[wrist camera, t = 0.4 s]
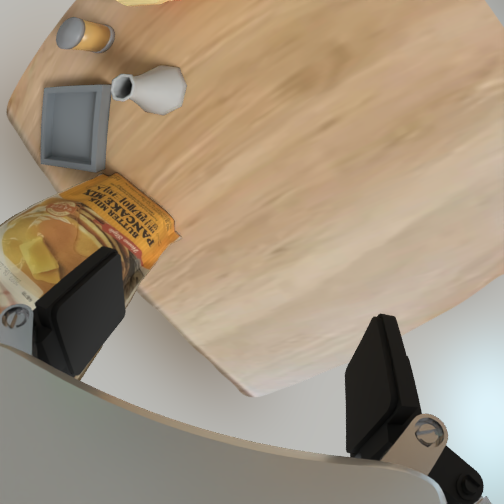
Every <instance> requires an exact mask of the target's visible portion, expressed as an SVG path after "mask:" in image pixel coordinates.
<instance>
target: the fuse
mask: <svg viewBox="0 0 504 504" xmlns="http://www.w3.org/2000/svg"><path fill="white" fill-rule="evenodd" d="M114 38H115V32H114V29H113V28H112V27H110V26H107V25H101V24H97V23H93V22H89V21H85V20H82V19H80V18H75V17H71V18H69V19H67V20H66V21H65V22H64V23H63V24H62V25H61V26H60V28H59V30H58V32H57V37H56V42H57V45H58V47H59V48H61V49H76V50H84V51H91V52H94V53H103V52H105V51H106V50H108V49H109V48H110V47H111V45H112V44H113V41H114Z"/></svg>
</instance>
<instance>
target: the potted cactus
mask: <svg viewBox="0 0 504 504" xmlns="http://www.w3.org/2000/svg"><path fill="white" fill-rule="evenodd" d="M116 1H118V2H120V3H122V4H123V5H125V6H142V5H158V4H162V3H164V2H166V1H172V0H116Z"/></svg>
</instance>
